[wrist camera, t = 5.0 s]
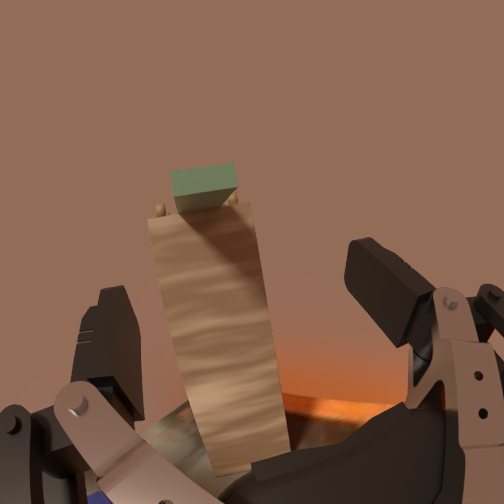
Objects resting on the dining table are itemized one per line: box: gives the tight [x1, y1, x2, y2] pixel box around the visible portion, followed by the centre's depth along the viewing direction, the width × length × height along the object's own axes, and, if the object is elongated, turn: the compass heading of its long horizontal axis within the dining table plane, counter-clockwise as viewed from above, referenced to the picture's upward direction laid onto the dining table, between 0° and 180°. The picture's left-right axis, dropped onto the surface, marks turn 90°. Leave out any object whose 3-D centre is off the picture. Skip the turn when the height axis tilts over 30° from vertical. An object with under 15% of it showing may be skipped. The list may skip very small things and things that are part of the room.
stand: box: [148, 192, 291, 477], centre depth 35 cm, size 14×10×34 cm
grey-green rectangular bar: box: [170, 163, 238, 214], centre depth 28 cm, size 22×4×5 cm, turn 13°
